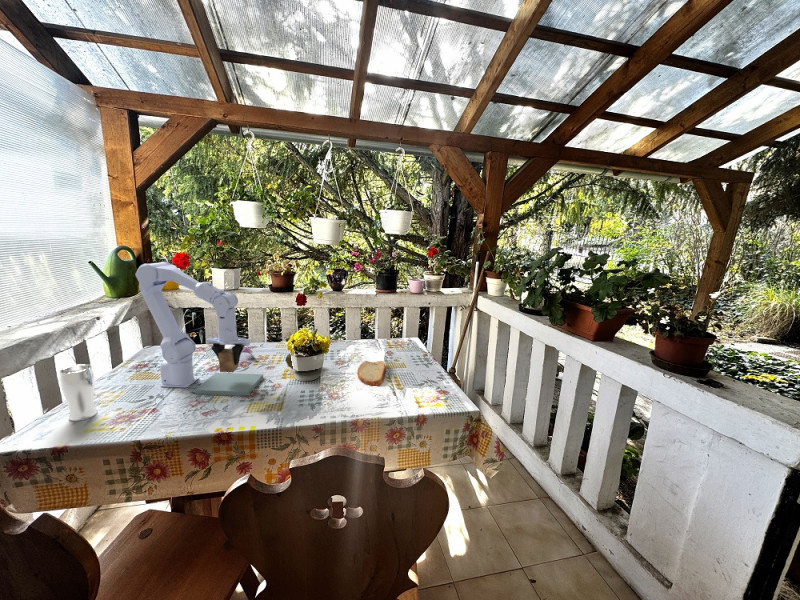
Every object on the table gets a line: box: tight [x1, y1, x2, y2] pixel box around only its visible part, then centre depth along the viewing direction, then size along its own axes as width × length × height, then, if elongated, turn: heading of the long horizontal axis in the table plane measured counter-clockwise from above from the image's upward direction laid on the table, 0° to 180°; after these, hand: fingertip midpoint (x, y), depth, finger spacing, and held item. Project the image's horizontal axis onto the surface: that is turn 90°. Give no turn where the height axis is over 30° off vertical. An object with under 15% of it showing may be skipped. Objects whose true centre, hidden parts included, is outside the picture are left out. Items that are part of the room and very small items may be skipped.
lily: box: [241, 345, 256, 359], centre depth 146 cm, size 12×12×10 cm
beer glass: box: [59, 363, 98, 422], centre depth 98 cm, size 7×7×15 cm
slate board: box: [193, 372, 264, 396], centre depth 122 cm, size 18×14×2 cm
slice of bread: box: [356, 360, 387, 387], centre depth 136 cm, size 18×18×4 cm
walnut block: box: [218, 348, 240, 373], centre depth 119 cm, size 4×4×7 cm
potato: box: [285, 353, 294, 370], centre depth 136 cm, size 8×13×8 cm, turn 94°
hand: (229, 363), depth 120 cm, fingers closed on walnut block, 4 cm apart
